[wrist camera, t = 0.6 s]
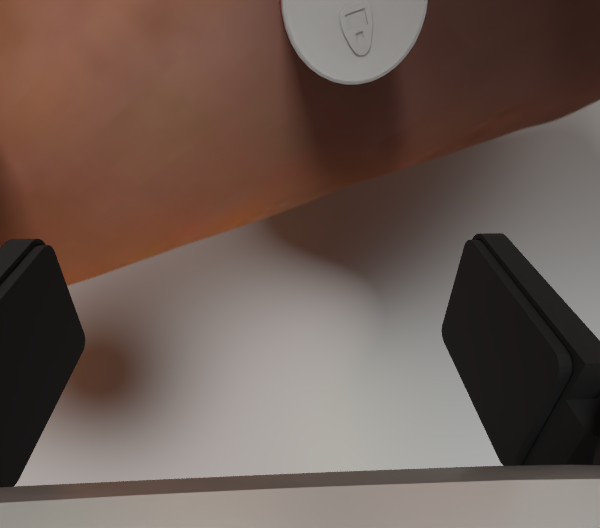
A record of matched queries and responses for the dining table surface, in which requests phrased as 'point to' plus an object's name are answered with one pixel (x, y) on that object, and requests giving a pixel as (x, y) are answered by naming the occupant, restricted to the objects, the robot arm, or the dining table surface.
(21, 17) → the dining table surface
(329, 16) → the canned food
